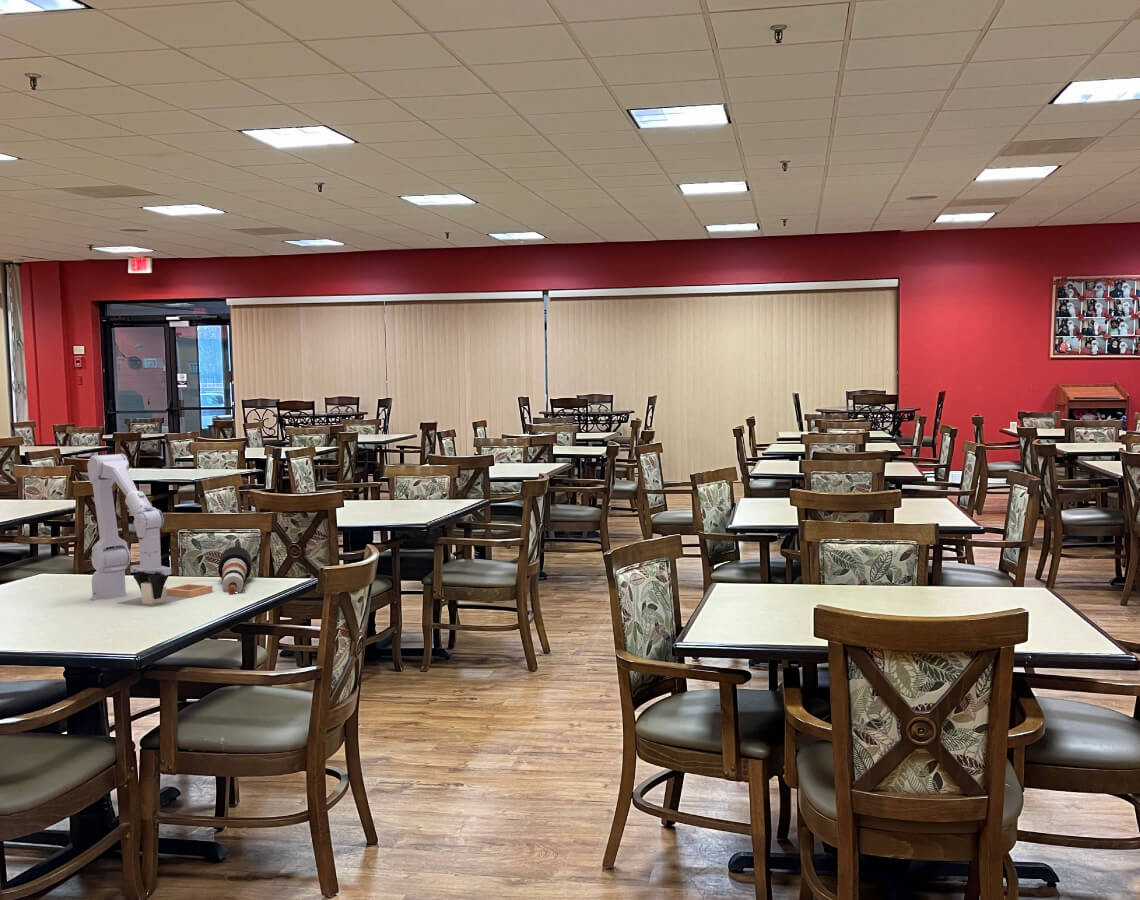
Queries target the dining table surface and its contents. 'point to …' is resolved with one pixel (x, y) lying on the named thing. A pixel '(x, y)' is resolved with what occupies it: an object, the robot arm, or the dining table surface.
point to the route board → (165, 600)
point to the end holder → (189, 590)
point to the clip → (164, 592)
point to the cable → (234, 568)
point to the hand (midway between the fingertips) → (152, 597)
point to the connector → (148, 593)
